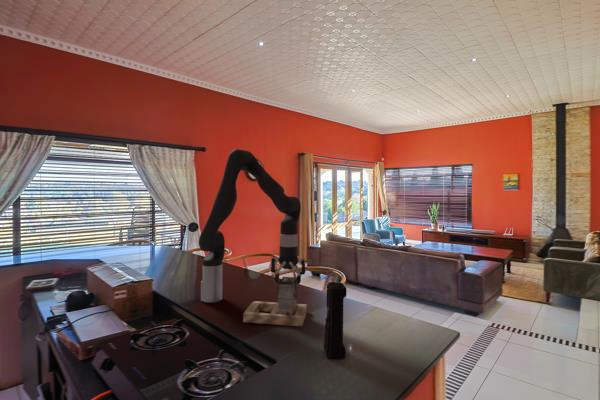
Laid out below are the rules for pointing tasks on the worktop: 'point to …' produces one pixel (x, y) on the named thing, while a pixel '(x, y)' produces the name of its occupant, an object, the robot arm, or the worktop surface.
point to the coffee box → (287, 296)
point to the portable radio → (335, 321)
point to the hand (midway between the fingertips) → (287, 283)
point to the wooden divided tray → (273, 314)
